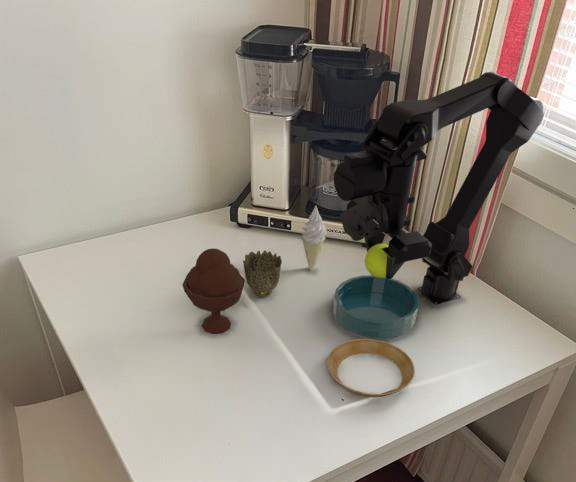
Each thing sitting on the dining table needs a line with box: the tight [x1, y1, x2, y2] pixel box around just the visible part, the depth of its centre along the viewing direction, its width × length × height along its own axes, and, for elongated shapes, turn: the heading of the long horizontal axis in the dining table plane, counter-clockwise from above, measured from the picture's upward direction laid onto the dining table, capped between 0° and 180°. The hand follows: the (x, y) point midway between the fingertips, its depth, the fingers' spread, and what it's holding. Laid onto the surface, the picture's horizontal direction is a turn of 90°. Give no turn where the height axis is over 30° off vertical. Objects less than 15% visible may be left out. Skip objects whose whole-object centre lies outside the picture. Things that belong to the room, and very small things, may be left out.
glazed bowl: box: [332, 274, 420, 340], centre depth 117 cm, size 16×16×4 cm
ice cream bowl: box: [181, 247, 246, 335], centre depth 110 cm, size 11×11×15 cm
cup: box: [242, 250, 283, 298], centre depth 120 cm, size 8×7×8 cm
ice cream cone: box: [300, 205, 327, 271], centre depth 125 cm, size 5×5×15 cm
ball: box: [364, 243, 389, 278], centre depth 109 cm, size 6×6×6 cm
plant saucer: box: [327, 338, 416, 398], centre depth 104 cm, size 15×15×3 cm
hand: (380, 270), depth 111 cm, fingers closed on ball, 6 cm apart
